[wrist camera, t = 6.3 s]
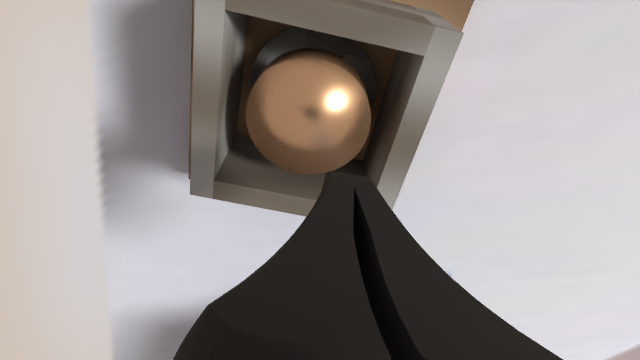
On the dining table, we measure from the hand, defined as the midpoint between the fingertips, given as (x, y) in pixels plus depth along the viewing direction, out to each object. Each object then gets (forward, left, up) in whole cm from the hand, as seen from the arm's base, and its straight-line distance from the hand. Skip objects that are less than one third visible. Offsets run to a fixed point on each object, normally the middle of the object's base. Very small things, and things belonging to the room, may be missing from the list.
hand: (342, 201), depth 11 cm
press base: (0, +1, -10) cm, 10 cm away
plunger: (0, +1, -8) cm, 9 cm away
